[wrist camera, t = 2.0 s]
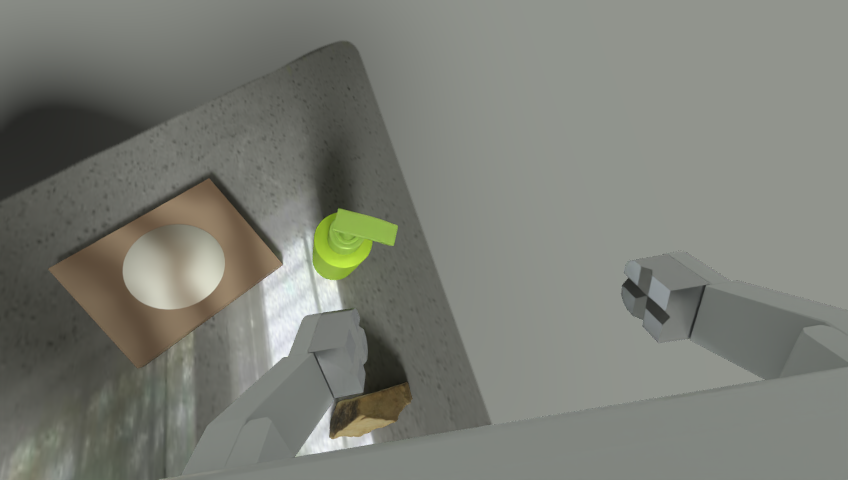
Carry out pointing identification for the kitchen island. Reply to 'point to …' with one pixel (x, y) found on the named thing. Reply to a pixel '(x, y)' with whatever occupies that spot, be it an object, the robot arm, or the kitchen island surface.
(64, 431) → the kitchen island surface
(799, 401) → the robot arm
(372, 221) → the soap dispenser
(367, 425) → the rock
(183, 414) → the kitchen island surface
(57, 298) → the kitchen island surface
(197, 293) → the brown flat wooden block
